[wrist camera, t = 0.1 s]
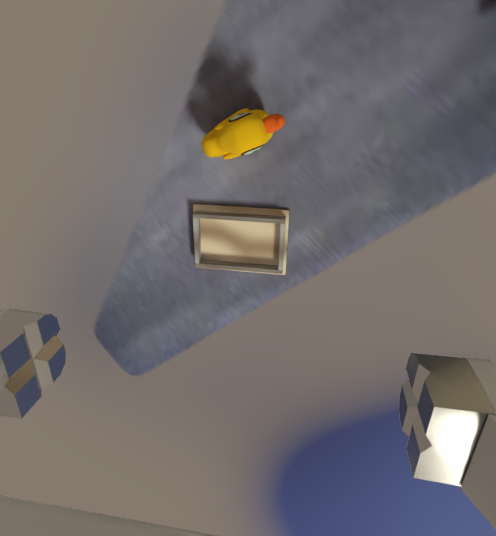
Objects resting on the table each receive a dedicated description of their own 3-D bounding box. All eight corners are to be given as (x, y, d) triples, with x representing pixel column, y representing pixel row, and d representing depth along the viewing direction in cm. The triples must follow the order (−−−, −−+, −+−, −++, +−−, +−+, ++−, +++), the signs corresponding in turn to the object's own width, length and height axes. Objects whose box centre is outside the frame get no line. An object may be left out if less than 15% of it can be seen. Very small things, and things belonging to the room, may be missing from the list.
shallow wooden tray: (193, 203, 59) (189, 207, 57) (289, 209, 57) (288, 213, 55) (196, 266, 63) (193, 271, 61) (285, 273, 61) (284, 279, 59)
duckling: (282, 92, 50) (274, 94, 41) (295, 133, 52) (290, 144, 43) (204, 124, 54) (181, 132, 45) (219, 162, 55) (199, 177, 46)
